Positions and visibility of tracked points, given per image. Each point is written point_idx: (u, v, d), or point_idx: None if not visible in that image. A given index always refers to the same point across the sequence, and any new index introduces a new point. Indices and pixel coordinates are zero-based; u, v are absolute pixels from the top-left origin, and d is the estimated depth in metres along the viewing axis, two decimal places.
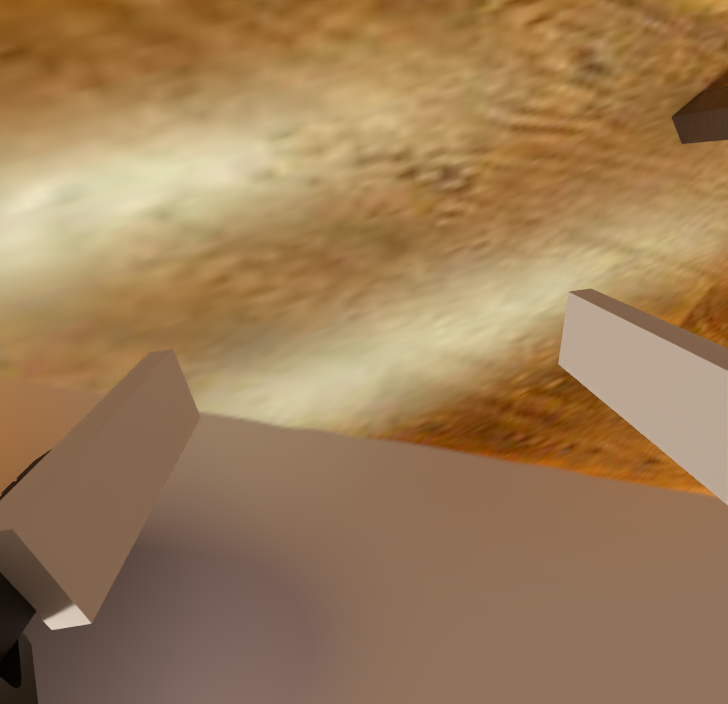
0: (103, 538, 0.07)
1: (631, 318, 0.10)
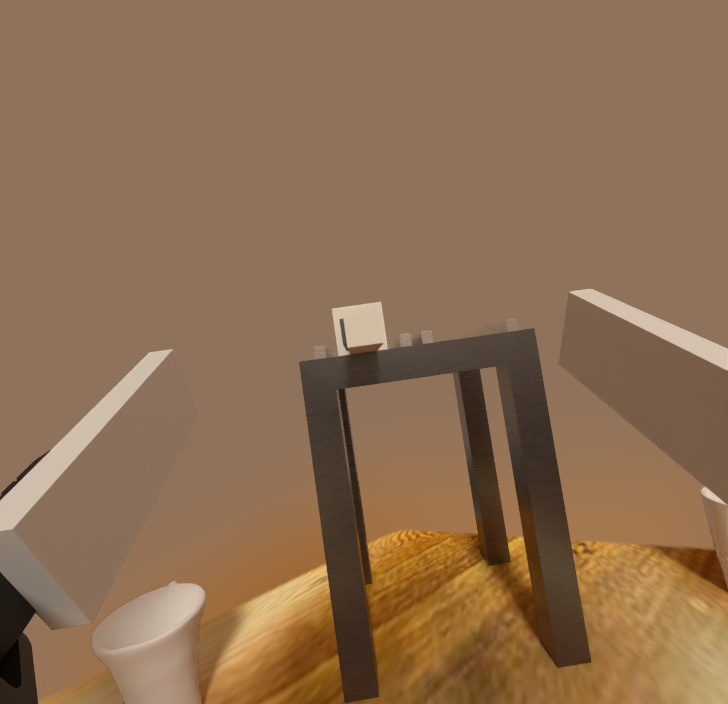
0: (103, 538, 0.07)
1: (631, 318, 0.10)
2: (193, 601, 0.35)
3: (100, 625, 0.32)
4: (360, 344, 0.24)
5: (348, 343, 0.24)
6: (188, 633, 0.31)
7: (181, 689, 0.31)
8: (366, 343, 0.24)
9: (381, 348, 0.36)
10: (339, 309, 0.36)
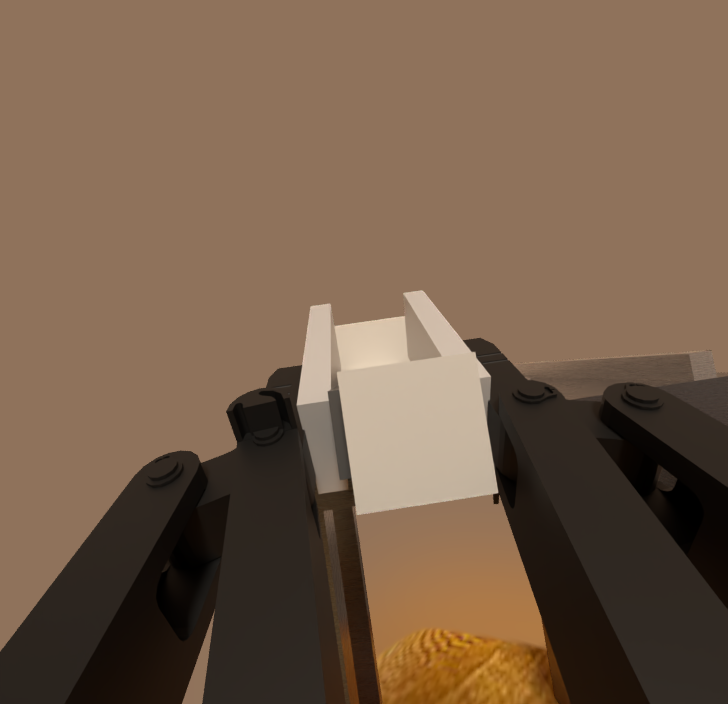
0: None
1: (424, 315, 0.11)
2: None
3: None
4: (407, 502, 0.06)
5: (360, 498, 0.06)
6: None
7: None
8: (430, 497, 0.06)
9: None
10: None
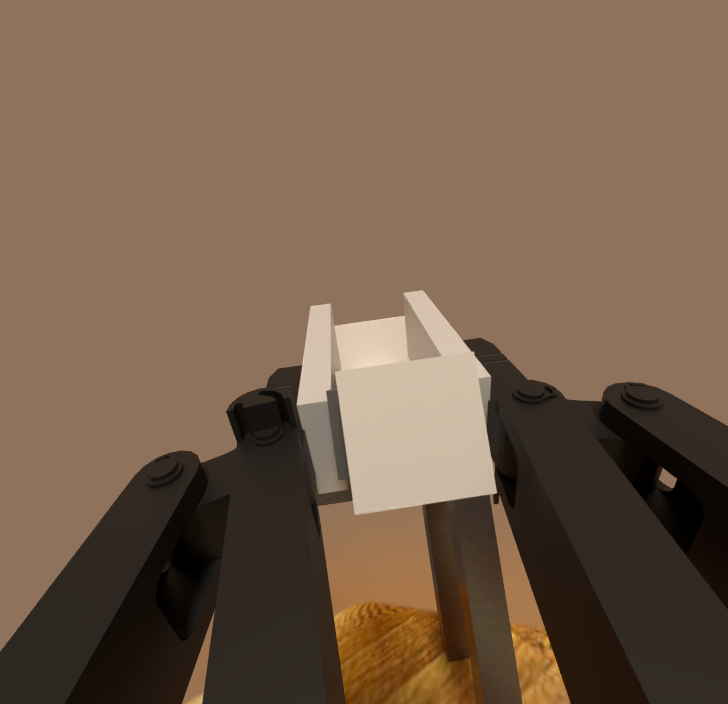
0: None
1: (424, 315, 0.11)
2: None
3: None
4: (405, 502, 0.06)
5: (359, 498, 0.06)
6: None
7: None
8: (428, 497, 0.06)
9: None
10: None
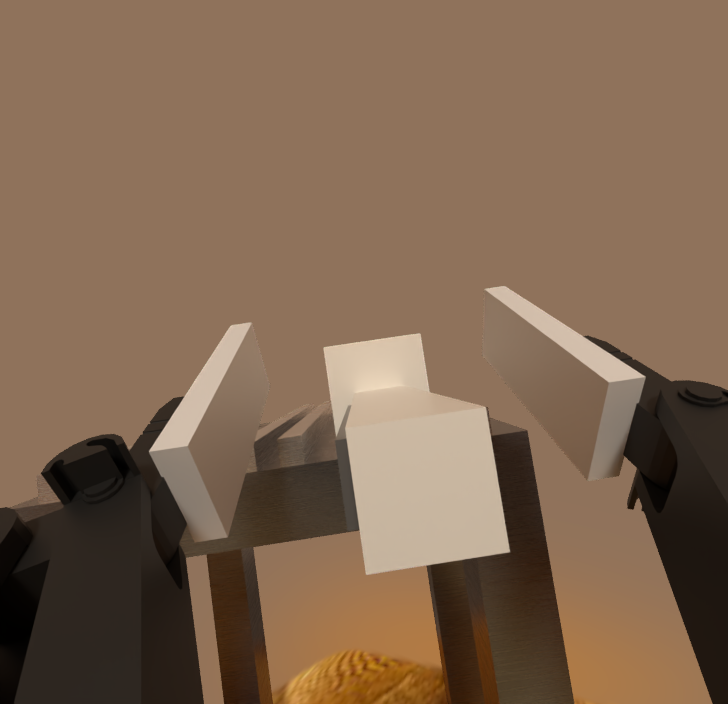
0: (228, 471, 0.09)
1: (522, 311, 0.11)
2: None
3: None
4: (417, 562, 0.06)
5: (370, 558, 0.06)
6: None
7: None
8: (440, 556, 0.06)
9: None
10: (338, 348, 0.18)
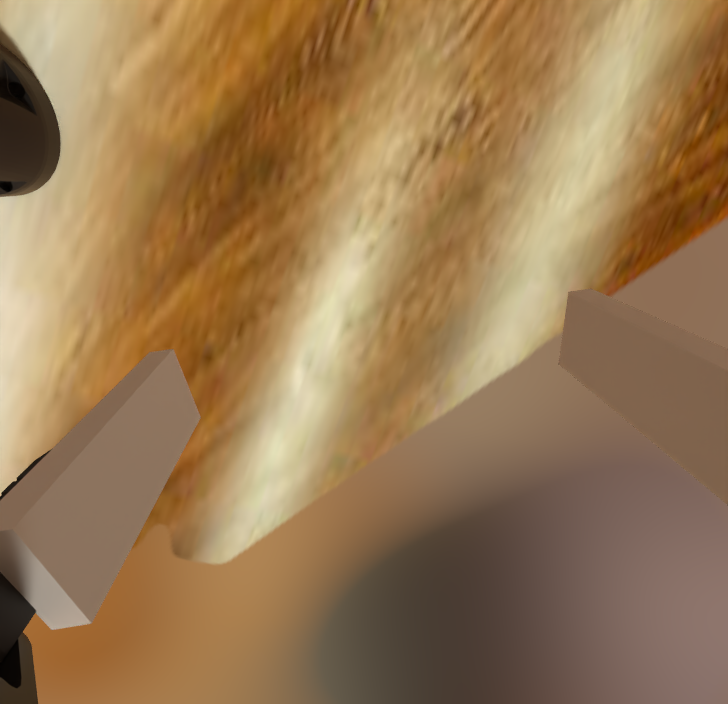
0: (103, 538, 0.07)
1: (631, 318, 0.10)
2: None
3: None
4: None
5: None
6: None
7: None
8: None
9: None
10: None
